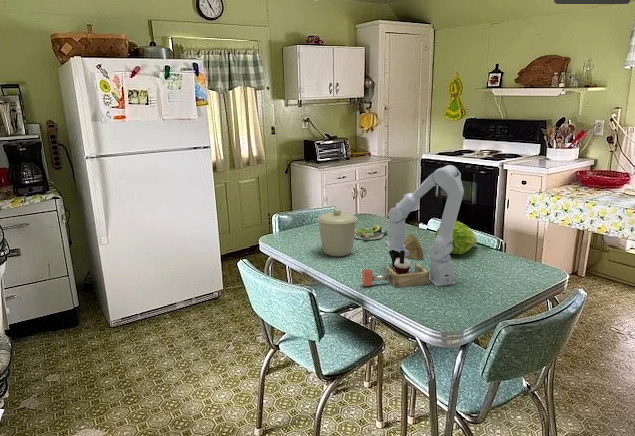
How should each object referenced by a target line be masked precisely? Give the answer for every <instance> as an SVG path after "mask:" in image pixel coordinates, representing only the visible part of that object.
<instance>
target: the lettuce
mask: <svg viewBox="0 0 635 436" xmlns="http://www.w3.org/2000/svg"><path fill="white" fill-rule="evenodd" d="M438 231H439V227H438V228H437V229H436V231H435V235H434V239H435V238H436V236H437V234H438ZM452 237H453V241H452V244H453V250H452V252H451V253H450V255H451V254H452V255H464V253H466V252H468V251H470V250H471V249H472V247H473V246H474V245H476V244H477V242H478V239H477V237H476V235H475V233H474V231H473V230H472V229H471V228H470V227H469V226H467V225H466V224H464V223H462V222H461V221H459V220H456V222H455V226H454V230H453V233H452Z"/></svg>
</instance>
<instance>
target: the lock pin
mask: <svg viewBox="0 0 635 436" xmlns="http://www.w3.org/2000/svg"><path fill="white" fill-rule="evenodd" d="M361 275H362V277H361V278H362V279H361V282H362V285H364V286H363V287H370V286H373V282H377V281H378V282H379V281H387V280H388V279H391V278H392V277H391V275H386V274H383V275H373V270H371V268H367V269H362V270H361ZM388 281H389V280H388Z"/></svg>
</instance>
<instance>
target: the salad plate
mask: <svg viewBox="0 0 635 436" xmlns="http://www.w3.org/2000/svg"><path fill="white" fill-rule="evenodd" d="M388 232H389V231H388V230H383V229H382V227H381V225H380V224H375V225H374V224H373V225H372V226H371V227H370V228H367V227H366V228H365V227H359V228H355V235H354V240H359V241H376V240H379V239H381V238H383V236H384V235H386V234H387V233H388ZM358 236H359V237H358ZM360 236H361V237H360Z"/></svg>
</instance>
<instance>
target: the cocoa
mask: <svg viewBox="0 0 635 436" xmlns="http://www.w3.org/2000/svg"><path fill="white" fill-rule="evenodd" d="M404 255H405V251H403V250H401V251H400V258H396V260H395V263H394V268H393V269H394V272H395V273H396V274H397V275H399V274H409V271H410V269H411V262H410V260H409V259H407V258H405V257H404Z"/></svg>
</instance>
